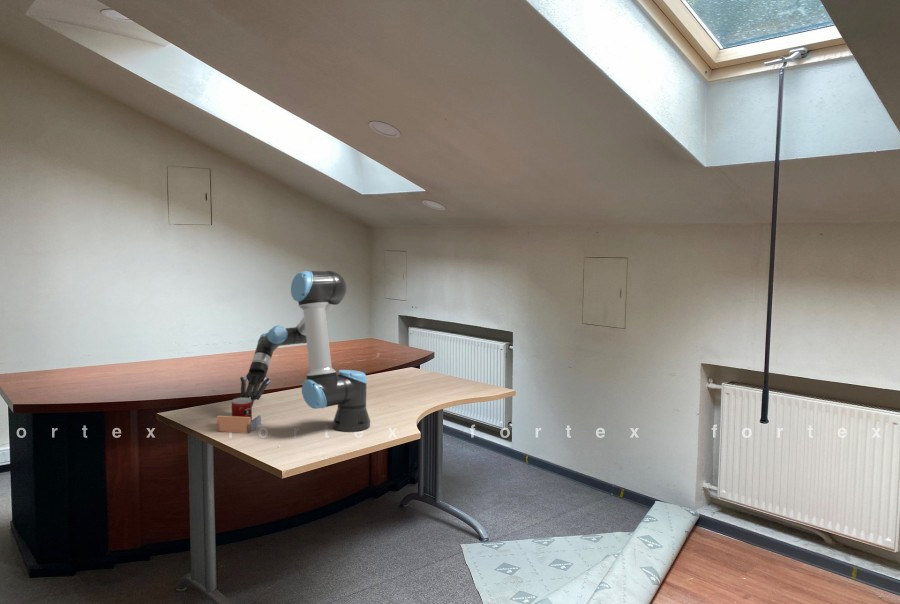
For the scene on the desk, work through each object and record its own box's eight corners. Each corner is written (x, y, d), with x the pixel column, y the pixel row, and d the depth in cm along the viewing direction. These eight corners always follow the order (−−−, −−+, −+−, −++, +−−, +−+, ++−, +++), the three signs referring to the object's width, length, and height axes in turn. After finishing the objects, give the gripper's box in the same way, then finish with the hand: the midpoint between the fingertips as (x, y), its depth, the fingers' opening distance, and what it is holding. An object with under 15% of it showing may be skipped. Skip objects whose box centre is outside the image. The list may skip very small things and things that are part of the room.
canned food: (239, 430, 245) (239, 403, 244) (227, 426, 250) (227, 399, 249) (255, 426, 251) (255, 399, 250) (244, 422, 256) (244, 396, 255)
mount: (261, 423, 255) (260, 409, 254) (249, 432, 242) (249, 418, 242) (230, 422, 255) (230, 408, 255) (217, 431, 243) (216, 416, 242)
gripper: (276, 370, 272) (262, 418, 258) (247, 369, 273) (232, 417, 258) (272, 361, 267) (257, 409, 252) (242, 360, 267) (226, 408, 253)
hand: (244, 413), depth 255 cm, fingers closed
